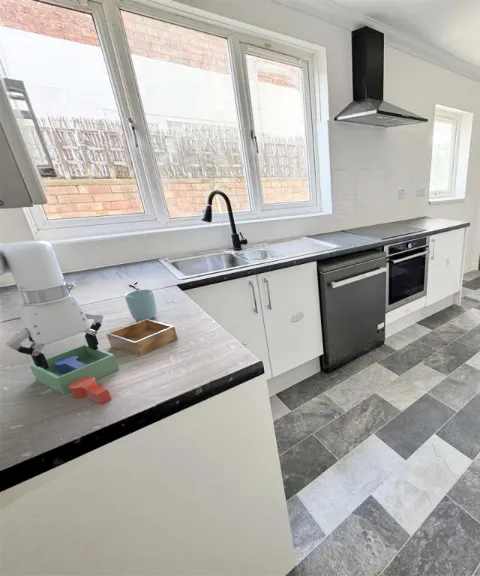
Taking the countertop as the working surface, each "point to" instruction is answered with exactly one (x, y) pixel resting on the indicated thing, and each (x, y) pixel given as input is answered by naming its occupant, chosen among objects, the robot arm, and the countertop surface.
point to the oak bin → (142, 337)
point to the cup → (141, 304)
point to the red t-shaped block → (90, 390)
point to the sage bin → (96, 367)
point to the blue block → (68, 364)
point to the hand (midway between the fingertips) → (70, 357)
